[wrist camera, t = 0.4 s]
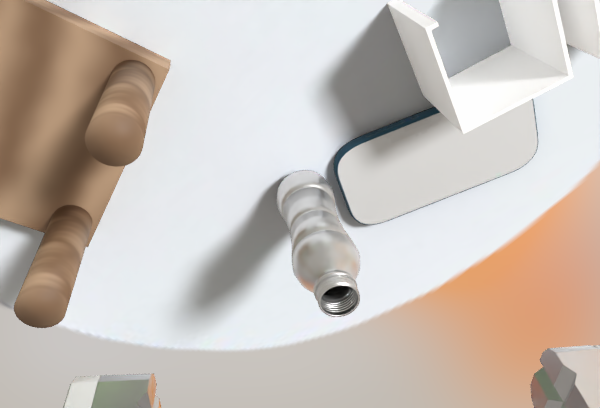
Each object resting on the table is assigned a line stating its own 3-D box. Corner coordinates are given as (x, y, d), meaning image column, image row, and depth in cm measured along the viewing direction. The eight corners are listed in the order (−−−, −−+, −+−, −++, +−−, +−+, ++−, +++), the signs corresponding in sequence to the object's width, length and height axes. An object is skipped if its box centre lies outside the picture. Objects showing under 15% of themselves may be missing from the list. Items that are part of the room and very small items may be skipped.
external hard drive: (353, 225, 68) (357, 233, 66) (324, 147, 62) (328, 154, 60) (533, 154, 67) (542, 161, 65) (522, 68, 61) (531, 73, 59)
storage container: (422, 94, 60) (463, 134, 51) (386, 2, 55) (425, 28, 45) (637, -19, 58) (721, 0, 48) (623, -128, 52) (715, -130, 43)
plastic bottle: (301, 222, 66) (337, 341, 49) (261, 190, 63) (285, 305, 46) (340, 187, 65) (392, 297, 48) (301, 152, 61) (341, 256, 44)
